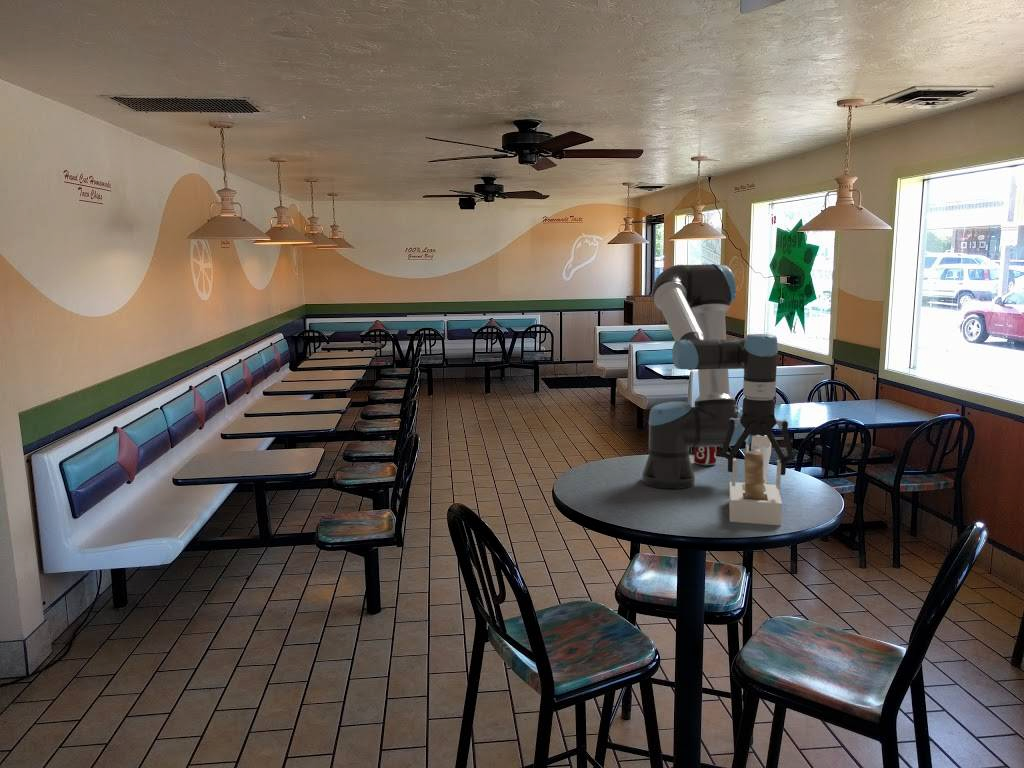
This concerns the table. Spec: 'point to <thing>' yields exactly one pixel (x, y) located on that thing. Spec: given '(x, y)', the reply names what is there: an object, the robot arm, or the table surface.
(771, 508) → the square-hole block
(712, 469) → the table surface
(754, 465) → the oak peg
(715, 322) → the robot arm
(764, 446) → the beer glass
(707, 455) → the soda can
